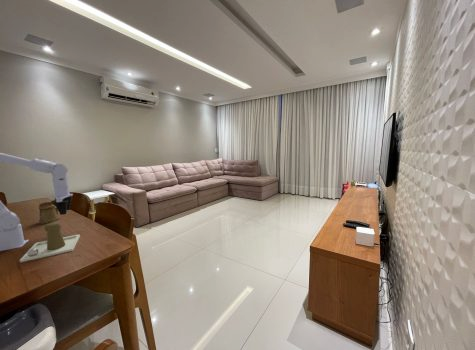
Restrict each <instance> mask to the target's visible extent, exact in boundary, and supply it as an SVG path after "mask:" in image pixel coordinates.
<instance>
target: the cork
mask: <svg viewBox="0 0 475 350" xmlns="http://www.w3.org/2000/svg"><path fill="white" fill-rule="evenodd" d="M61 228H62V224H61V223H60V222H58V221H54V222H50V223H46V224H45V226H44V231H45V232H46V235H47V236H46V241H47V250H56V249H59V248H62V247H64V246H65V242H64V239H63V237H64V236H63V234H62V231H61Z"/></svg>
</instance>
